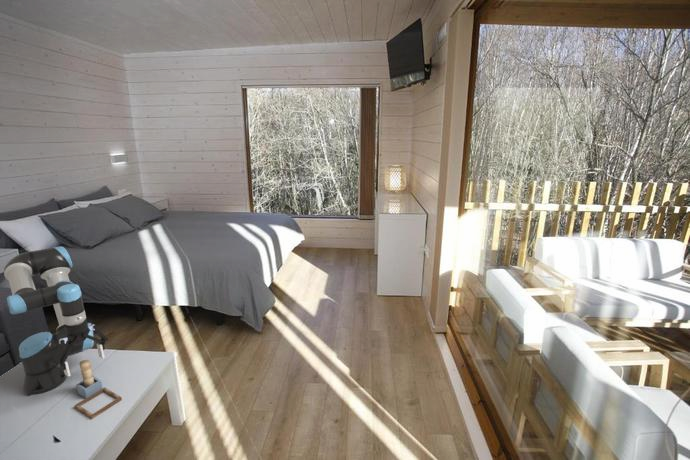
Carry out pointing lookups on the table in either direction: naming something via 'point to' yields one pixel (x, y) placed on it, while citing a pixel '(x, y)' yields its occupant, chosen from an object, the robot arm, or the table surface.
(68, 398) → the table surface
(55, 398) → the table surface
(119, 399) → the brown wooden frame
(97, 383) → the blue grey open box
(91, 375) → the pestle
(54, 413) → the table surface
